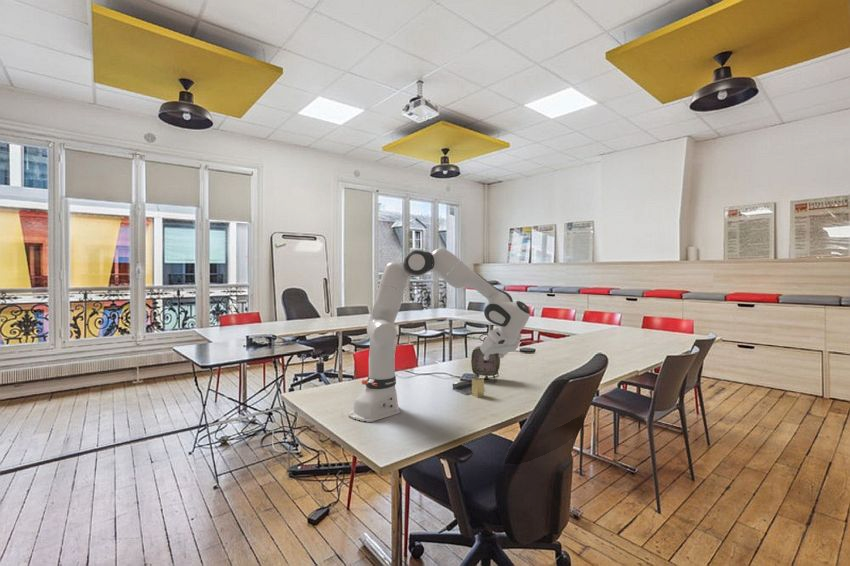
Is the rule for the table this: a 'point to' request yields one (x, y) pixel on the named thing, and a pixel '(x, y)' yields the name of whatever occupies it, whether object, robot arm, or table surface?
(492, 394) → the table surface
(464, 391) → the fixed leaf
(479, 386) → the tan wooden block
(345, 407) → the table surface
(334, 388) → the table surface
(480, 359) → the tabletop clock
